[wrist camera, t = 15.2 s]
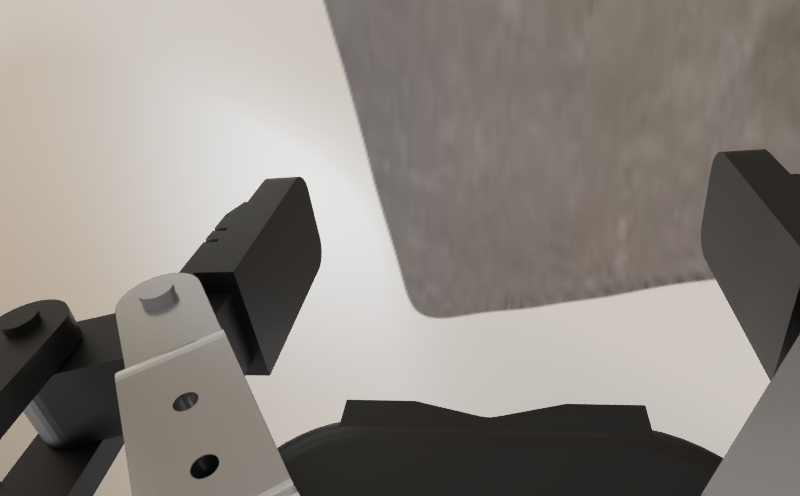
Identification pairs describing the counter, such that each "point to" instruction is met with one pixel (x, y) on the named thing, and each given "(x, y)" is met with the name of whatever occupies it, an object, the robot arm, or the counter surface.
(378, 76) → the counter surface
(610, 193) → the counter surface
